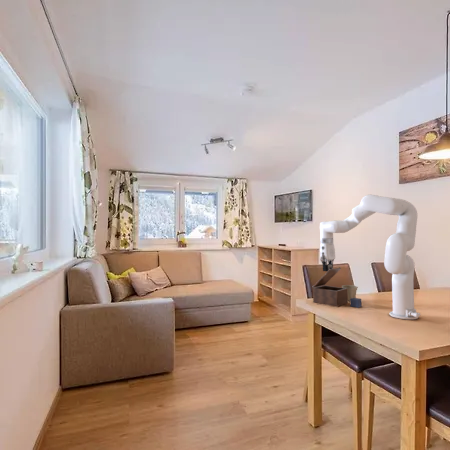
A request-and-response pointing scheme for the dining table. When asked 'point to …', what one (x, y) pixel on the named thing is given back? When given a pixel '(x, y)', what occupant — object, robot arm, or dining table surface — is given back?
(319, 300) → the chest
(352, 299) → the block
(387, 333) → the dining table surface
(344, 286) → the flower pot
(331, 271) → the lid
